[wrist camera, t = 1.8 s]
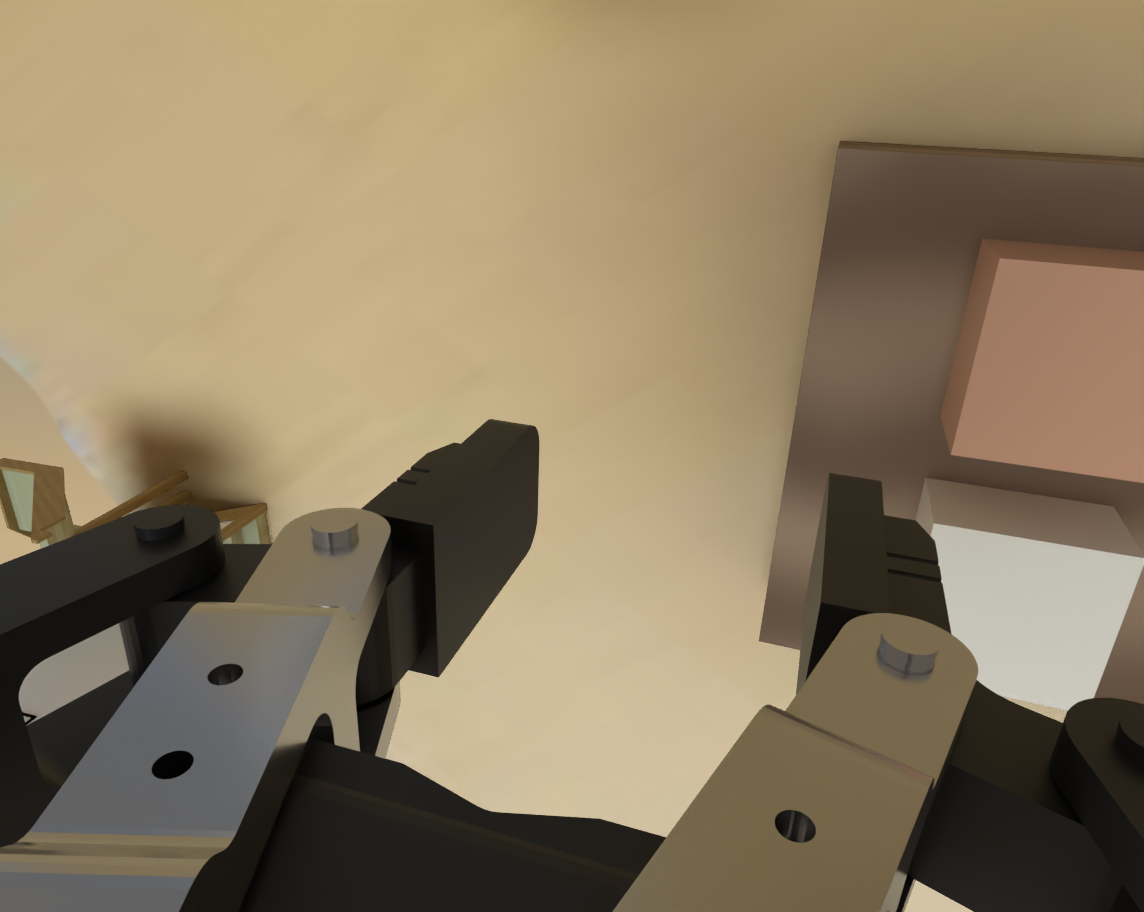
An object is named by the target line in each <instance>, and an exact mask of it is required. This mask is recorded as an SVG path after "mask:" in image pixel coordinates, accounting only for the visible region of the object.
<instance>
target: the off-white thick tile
mask: <svg viewBox="0 0 1144 912" xmlns="http://www.w3.org/2000/svg"><path fill="white" fill-rule="evenodd" d="M915 520H916V521H917V522H918V523H919V524H920V525H921V526H922V528H923V529H924V530H925V531H926V532H927V533H928V534H929V535H930V536H931V537H932V538H933V539H934V540H935V544H936V549H937V555H938V561H939V562H938V566H940V572H941V578H942V580H941V583H943V589H944V595H945V600H946V606H947V611H948V617H949V623H950V628H951V634H952V635H953V636H955V637H956V638H957V639H958V640H960V641H961V642H962V643H963V644H964V645H965V646H966V647H967V648H968V649H969V650H970V651H971V653H972V654H973V656H974V657H975V660H976V662H977V664H978V676H977V680H978V681H979V682H980V683H981V684H983V685H984V686H985V687H987V688H988V689H990V690H991V691H993V692H994V693H996V694H998V695H1000V696H1003V697H1007V698H1012V699H1017V700H1021V701H1026V702H1031V703H1035V704H1040V705H1045V706H1049V707H1054V708H1059V709H1064V710H1069V709H1070V708H1071V707H1072V706H1073V705H1075V704H1076V703H1077V702H1080V701H1083V700H1086V699H1091V698H1094V696H1095V693H1096V691H1097V688H1098V685H1099V683H1100V680H1101V677H1102V675H1103V672H1104V669H1105V667H1106V664H1107V661H1108V659H1109V656H1110V653H1111V651H1112V648H1113V645H1114V643H1115V640H1116V637H1117V635H1118V632H1119V629H1120V627H1121V624H1122V622H1123V619H1124V616H1125V614H1126V611H1127V608H1128V606H1129V603H1130V600H1131V598H1132V595H1133V592H1134V590H1135V587H1136V584H1137V582H1138V579H1139V576H1140V574H1141V571H1142V568H1143V566H1144V554H1143V553H1142V551H1141V550H1140V548H1139V546H1138V545H1137V543H1136V542H1135V540H1134V538H1133V537H1132V535H1131V534H1130V532H1129V530H1128V529H1127V527H1126V526H1125V524H1124V522H1123V521H1122V519H1121V518H1120V516H1119V514H1118V513H1117V511H1116V510H1115V508H1114V507H1113V506H1106V505H1100V504H1093V503H1087V502H1080V501H1074V500H1067V499H1061V498H1054V497H1048V496H1041V495H1035V494H1028V493H1022V492H1015V491H1009V490H1002V489H996V488H989V487H983V486H976V485H970V484H963V483H957V482H950V481H944V480H937V479H931V478H925V482H924V486H923V490H922V494H921V498H920V503H919V507H918V511H917V515H916V519H915Z"/></svg>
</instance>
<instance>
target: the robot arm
mask: <svg viewBox="0 0 1144 912" xmlns="http://www.w3.org/2000/svg"><path fill="white" fill-rule="evenodd" d="M538 475H539V435H538V431H537V429H536V427H535V426H531V425H525V424H518V423H512V422H506V421H499V420H493V419H490V420H488V421H486V422H485V423H484V424H483V425H482V426H481V427H480V428H478V429H477V430H476V431H475V432H474V433H473V434H472V435H471V436H469V437H468V438H467V439H466V440H465V441H464V442H463V443H462V444H458V443H452V444H450V445H447V446H445V447H442V448H440V449H437V450H434V451H432V452H429V453H427V454H426V455H425V456H424V457H422V458H421V459H420V460H419V461H418V462H417V463H415V464H414V465H413V466H412V467H411V470H407V471H406V472H405V473H403V474H402V475H401V476H400V477H399V478H397V482H393V483H391V484H390V485H389V486H388V487H387V488H386V489H384V490H383V491H382V492H381V493H380V494H378V495H377V496H376V497H375V498H374V499H372V500H371V501H370V502H369V503H368V504H366V505H365V506H364V507H363V508H362V509H356V508H333V509H326V510H320V511H316V512H312V513H309V514H306V515H303V516H301V517H299V518H297V519H295V520H293V521H291V522H290V523H289V524H287V525H286V526H285V527H284V528H283V529H282V530H281V532H280V533H279V535H278V536H277V538H276V539H275V541H274V542H273V544H223V539H222V532H221V526H220V520H219V518H218V516H217V515H216V514H215V513H214V512H212V511H211V510H209V509H206V508H204V507H199V506H193V505H166V506H158V507H153V508H148V509H144V510H140V511H137V512H134V513H131V514H129V515H126V516H124V517H121V518H118V519H116V520H113V521H111V522H108V523H106V524H103V525H100V526H98V527H95V528H93V529H90V530H88V531H85V532H83V533H80V534H77V535H75V536H72V537H70V538H67V539H65V540H62V541H59V542H57V543H54V544H52V545H49V546H47V547H44V548H42V549H39V550H36V551H34V552H32V553H29V554H26V555H24V556H21V557H19V558H16V559H13V560H11V561H8V562H6V563H3V564H1V565H0V912H904V911H905V908H906V905H907V903H908V900H909V897H910V894H911V892H912V889H913V886H914V883H915V881H916V880H917V881H919V882H921V883H922V884H924V885H926V886H928V887H930V888H932V889H933V890H935V891H937V892H939V893H941V894H943V895H944V896H946V897H948V898H950V899H952V900H954V901H955V902H957V903H959V904H961V905H963V906H965V907H966V908H968V909H970V910H972V911H974V912H1144V704H1141V703H1137V702H1134V701H1129V700H1124V699H1117V698H1091V699H1086V700H1083V701H1080V702H1077V703H1076V704H1075V705H1073V706H1072V707H1071V708H1070V709H1069V710H1068V712H1067V714H1066V717H1065V719H1064V722H1063V723H1061V722H1059V721H1056V720H1054V719H1051V718H1049V717H1047V716H1044V715H1042V714H1039V713H1037V712H1034V711H1032V710H1029V709H1027V708H1024V707H1022V706H1020V705H1018V704H1015V703H1013V702H1011V701H1009V700H1007V699H1005V698H1003V697H1001V696H1000V695H998V694H996V693H994V692H993V691H991V690H990V689H988V688H987V687H985V686H984V685H983V684H981V683H980V682H979V681H978V680H977V676H978V664H977V662H976V660H975V657H974V656H973V654H972V653H971V651H970V650H969V649H968V648H967V647H966V646H965V645H964V644H963V643H962V642H961V641H960V640H958V639H957V638H956V637H955V636H953V635H952V634H951V628H950V623H949V617H948V611H947V606H946V600H945V595H944V589H943V583H941V580H942V578H941V572H940V566H938V562H939V561H938V555H937V549H936V544H935V540H934V539H933V538H932V537H931V536H930V535H929V534H928V533H927V532H926V531H925V530H924V529H923V528H922V526H921V525H920V524H919V523H918V522H917V521H916V520H910V519H904V518H898V517H892V516H886V515H884V507H883V492H882V482H881V481H878V480H872V479H865V478H859V477H853V476H846V475H840V474H834V473H829V475H828V479H827V483H826V488H825V494H824V499H823V505H822V510H821V515H820V521H819V526H818V532H817V537H816V543H815V548H814V553H813V559H812V564H811V570H810V576H809V582H808V588H807V595H806V602H805V610H804V620H803V631H802V641H801V651H800V661H799V671H798V681H797V691H796V696H795V698H794V699H793V701H792V702H791V704H790V705H789V707H788V708H787V709H786V711H783V710H781V709H778V708H776V707H774V706H772V705H766V706H764V707H763V708H762V709H761V710H759V712H758V713H757V714H756V715H755V717H754V718H753V719H752V721H751V722H750V724H749V725H748V726H747V728H746V729H745V730H744V732H743V733H742V735H741V736H740V737H739V739H738V740H737V741H736V743H735V744H734V745H733V747H732V748H731V750H730V751H729V752H728V754H727V755H726V756H725V758H724V759H723V761H722V762H721V763H720V765H719V766H718V767H717V769H716V770H715V772H714V773H713V774H712V776H711V777H710V778H709V780H708V781H707V783H706V784H705V785H704V787H703V788H702V789H701V791H700V792H699V794H698V795H697V796H696V798H695V799H694V800H693V802H692V803H691V804H690V806H689V807H688V809H687V810H686V811H685V813H684V814H683V815H682V817H681V818H680V820H679V821H678V822H677V824H676V825H675V826H674V828H673V829H672V831H671V832H670V833H669V835H668V836H667V837H662V836H659V835H655V834H652V833H648V832H645V831H641V830H637V829H634V828H630V827H627V826H623V825H620V824H616V823H612V822H609V821H605V820H602V819H594V818H578V817H562V816H546V815H530V814H514V813H499V812H491V811H488V810H484V809H482V808H480V807H478V806H476V805H474V804H472V803H471V802H469V801H467V800H465V799H464V798H462V797H460V796H458V795H457V794H455V793H453V792H451V791H450V790H448V789H446V788H445V787H443V786H441V785H439V784H438V783H436V782H434V781H432V780H431V779H429V778H427V777H425V776H424V775H422V774H420V773H418V772H417V771H415V770H413V769H411V768H410V767H408V766H406V765H404V764H402V763H399V762H395V761H392V760H388V759H385V758H386V754H387V751H388V747H389V744H390V740H391V736H392V733H393V729H394V725H395V722H396V718H397V714H398V711H399V707H400V701H401V698H400V680H401V678H402V677H403V676H404V675H405V673H406V672H407V671H408V670H411V671H415V672H419V673H423V674H427V675H431V676H435V677H439V676H440V675H441V673H442V672H443V671H444V669H445V668H446V666H447V665H448V664H449V662H450V661H451V659H452V658H453V657H454V655H455V654H456V652H457V651H458V650H459V648H460V647H461V645H462V644H463V643H464V641H465V640H466V638H467V637H468V636H469V634H470V633H471V631H472V630H473V629H474V627H475V626H476V624H477V623H478V622H479V620H480V619H481V617H482V616H483V615H484V613H485V612H486V610H487V609H488V608H489V606H490V605H491V603H492V602H493V601H494V599H495V598H496V596H497V595H498V594H499V592H500V591H501V590H502V588H503V587H504V585H505V584H506V583H507V581H508V580H509V578H510V577H511V576H512V574H513V573H514V571H515V570H516V569H517V567H518V566H519V564H520V563H521V562H522V560H523V559H524V557H525V556H526V555H527V553H528V551H529V549H530V547H531V544H532V542H533V538H534V535H535V530H536V525H537V514H538ZM118 623H119V626H120V631H121V635H122V639H123V644H124V648H125V653H126V657H127V662H128V666H129V671H127V672H125V673H123V674H121V675H119V676H117V677H116V678H114V679H112V680H110V681H108V682H106V683H104V684H103V685H101V686H99V687H97V688H95V689H93V690H91V691H90V692H88V693H86V694H84V695H82V696H80V697H79V698H77V699H75V700H73V701H71V702H69V703H67V704H66V705H64V706H62V707H60V708H58V709H56V710H54V711H53V712H51V713H49V714H47V715H45V716H43V717H42V718H40V719H38V720H36V721H34V722H32V723H30V724H29V725H27V726H26V723H25V720H24V717H23V713H22V710H21V707H20V703H19V691H20V687H21V685H22V683H23V681H24V679H25V678H26V676H27V675H28V674H29V672H30V671H31V670H32V669H33V668H34V667H35V666H36V665H38V664H39V663H40V662H42V661H44V660H45V659H47V658H49V657H51V656H53V655H55V654H57V653H59V652H61V651H63V650H65V649H67V648H69V647H71V646H73V645H76V644H78V643H80V642H82V641H84V640H86V639H88V638H90V637H92V636H94V635H96V634H98V633H100V632H102V631H104V630H106V629H108V628H110V627H112V626H114V625H116V624H118Z"/></svg>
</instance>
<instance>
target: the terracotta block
mask: <svg viewBox="0 0 1144 912" xmlns="http://www.w3.org/2000/svg"><path fill="white" fill-rule="evenodd" d="M940 416H941V420H942V424H943V427H944V431H945V435H946V439H947V443H948V446H949V450H950V454H951V455H955V456H962V457H969V458H976V459H983V460H989V461H996V462H1003V463H1010V464H1017V465H1024V466H1030V467H1037V468H1044V469H1051V470H1058V471H1065V472H1072V473H1078V474H1085V475H1092V476H1099V477H1106V478H1113V479H1119V480H1126V481H1133V482H1140V483H1144V252H1141V251H1128V250H1116V249H1104V248H1092V247H1080V246H1068V245H1056V244H1044V243H1031V242H1019V241H1007V240H995V239H983V238H982V242H981V246H980V250H979V255H978V259H977V263H976V267H975V271H974V276H973V280H972V284H971V288H970V292H969V297H968V301H967V305H966V309H965V313H964V318H963V322H962V326H961V330H960V334H959V339H958V343H957V347H956V351H955V355H954V360H953V364H952V368H951V372H950V376H949V381H948V385H947V389H946V393H945V398H944V402H943V406H942V410H941V414H940Z"/></svg>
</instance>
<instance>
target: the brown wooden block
mask: <svg viewBox="0 0 1144 912" xmlns="http://www.w3.org/2000/svg"><path fill="white" fill-rule="evenodd" d="M982 238H983V239H995V240H1007V241H1019V242H1031V243H1044V244H1056V245H1068V246H1080V247H1092V248H1104V249H1116V250H1128V251H1141V252H1144V158H1133V157H1115V156H1097V155H1080V154H1062V153H1044V152H1027V151H1009V150H992V149H974V148H956V147H939V146H921V145H903V144H886V143H868V142H851V141H840V144H839V147H838V151H837V157H836V163H835V170H834V176H833V182H832V188H831V195H830V201H829V207H828V213H827V220H826V226H825V232H824V238H823V245H822V251H821V257H820V263H819V269H818V276H817V282H816V288H815V294H814V301H813V307H812V313H811V319H810V326H809V332H808V338H807V344H806V350H805V357H804V363H803V369H802V375H801V382H800V388H799V394H798V400H797V407H796V413H795V419H794V425H793V431H792V438H791V444H790V450H789V456H788V463H787V469H786V475H785V481H784V488H783V494H782V500H781V506H780V512H779V519H778V525H777V531H776V537H775V544H774V550H773V556H772V562H771V569H770V575H769V581H768V587H767V593H766V600H765V606H764V612H763V618H762V625H761V631H760V637H759V641H761V642H765V643H770V644H775V645H779V646H784V647H789V648H794V649H798V650H801V641H802V631H803V620H804V610H805V602H806V595H807V588H808V582H809V576H810V570H811V564H812V559H813V553H814V548H815V543H816V537H817V532H818V526H819V521H820V515H821V510H822V505H823V499H824V494H825V488H826V483H827V479H828V475H829V473H834V474H840V475H846V476H853V477H859V478H865V479H872V480H878V481H881V482H882V492H883V507H884V515H886V516H892V517H898V518H904V519H910V520H915V519H916V515H917V511H918V507H919V503H920V498H921V494H922V490H923V486H924V482H925V478H931V479H937V480H944V481H950V482H957V483H963V484H970V485H976V486H983V487H989V488H996V489H1002V490H1009V491H1015V492H1022V493H1028V494H1035V495H1041V496H1048V497H1054V498H1061V499H1067V500H1074V501H1080V502H1087V503H1093V504H1100V505H1106V506H1113V507H1114V508H1115V510H1116V511H1117V513H1118V514H1119V516H1120V518H1121V519H1122V521H1123V522H1124V524H1125V526H1126V527H1127V529H1128V530H1129V532H1130V534H1131V535H1132V537H1133V538H1134V540H1135V542H1136V543H1137V545H1138V546H1139V548H1140V550H1141V551H1142V553H1143V554H1144V483H1140V482H1133V481H1126V480H1119V479H1113V478H1106V477H1099V476H1092V475H1085V474H1078V473H1072V472H1065V471H1058V470H1051V469H1044V468H1037V467H1030V466H1024V465H1017V464H1010V463H1003V462H996V461H989V460H983V459H976V458H969V457H962V456H955V455H951V454H950V450H949V446H948V443H947V439H946V435H945V431H944V427H943V424H942V420H941V416H940V414H941V410H942V406H943V402H944V398H945V393H946V389H947V385H948V381H949V376H950V372H951V368H952V364H953V360H954V355H955V351H956V347H957V343H958V339H959V334H960V330H961V326H962V322H963V318H964V313H965V309H966V305H967V301H968V297H969V292H970V288H971V284H972V280H973V276H974V271H975V267H976V263H977V259H978V255H979V250H980V246H981V242H982ZM1094 698H1117V699H1124V700H1129V701H1134V702H1137V703H1141V704H1144V566H1143V568H1142V571H1141V574H1140V576H1139V579H1138V582H1137V584H1136V587H1135V590H1134V592H1133V595H1132V598H1131V600H1130V603H1129V606H1128V608H1127V611H1126V614H1125V616H1124V619H1123V622H1122V624H1121V627H1120V629H1119V632H1118V635H1117V637H1116V640H1115V643H1114V645H1113V648H1112V651H1111V653H1110V656H1109V659H1108V661H1107V664H1106V667H1105V669H1104V672H1103V675H1102V677H1101V680H1100V683H1099V685H1098V688H1097V691H1096V693H1095V696H1094Z"/></svg>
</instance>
